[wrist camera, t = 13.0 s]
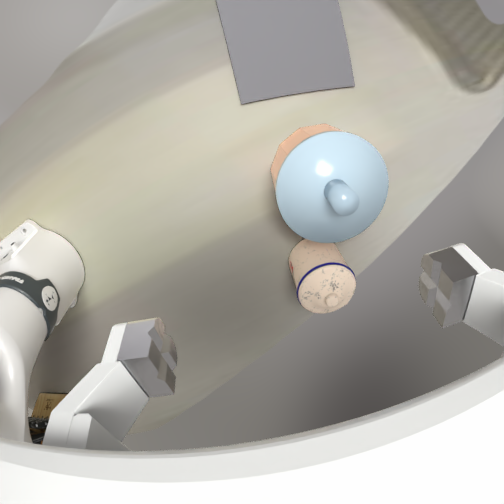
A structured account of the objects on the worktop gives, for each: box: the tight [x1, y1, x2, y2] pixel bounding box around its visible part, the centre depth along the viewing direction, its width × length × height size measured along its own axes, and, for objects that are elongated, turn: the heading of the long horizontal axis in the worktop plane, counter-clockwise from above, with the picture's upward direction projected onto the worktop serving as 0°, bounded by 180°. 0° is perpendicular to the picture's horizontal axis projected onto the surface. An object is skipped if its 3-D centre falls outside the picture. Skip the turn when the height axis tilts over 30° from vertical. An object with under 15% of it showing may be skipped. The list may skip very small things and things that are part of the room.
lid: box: [275, 131, 388, 243], centre depth 37 cm, size 15×15×5 cm
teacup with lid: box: [289, 239, 356, 313], centre depth 49 cm, size 12×9×12 cm
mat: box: [216, 0, 355, 104], centre depth 35 cm, size 16×16×1 cm
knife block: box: [28, 393, 67, 445], centre depth 61 cm, size 11×35×31 cm, turn 7°
